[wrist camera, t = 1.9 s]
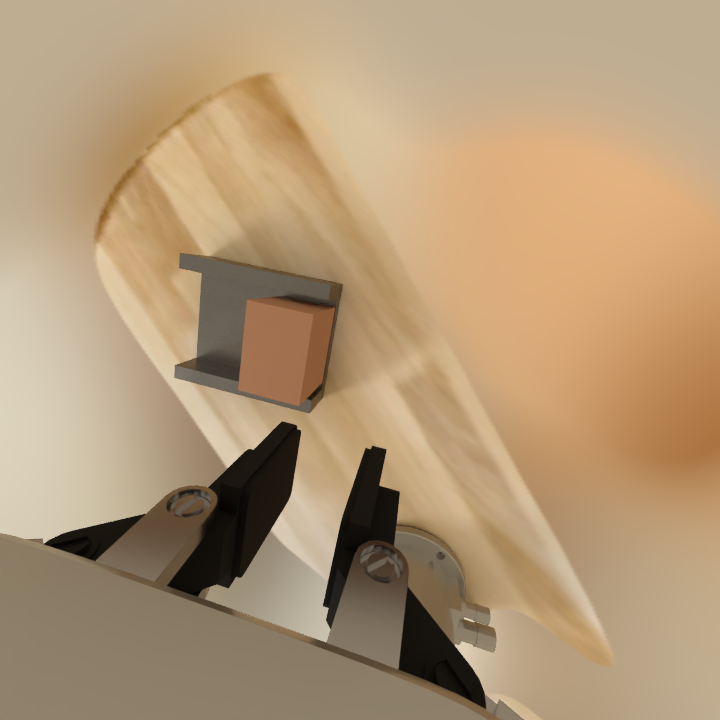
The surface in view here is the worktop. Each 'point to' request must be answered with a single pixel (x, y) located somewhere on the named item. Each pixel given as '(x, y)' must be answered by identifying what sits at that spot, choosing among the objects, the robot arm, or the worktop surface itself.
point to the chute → (243, 319)
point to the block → (284, 348)
